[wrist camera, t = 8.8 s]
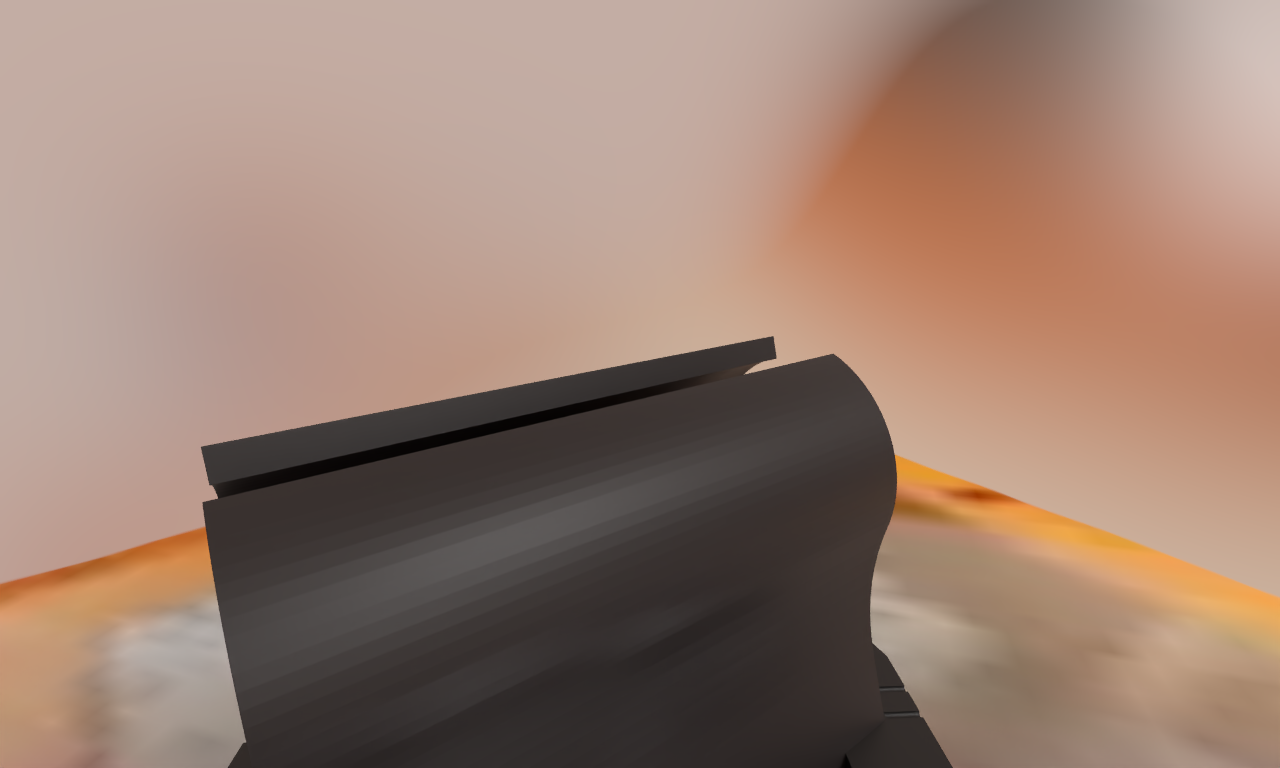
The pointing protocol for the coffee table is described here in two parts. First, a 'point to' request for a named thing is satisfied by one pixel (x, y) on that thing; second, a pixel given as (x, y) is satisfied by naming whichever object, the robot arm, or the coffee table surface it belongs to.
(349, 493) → the phone stand
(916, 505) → the coffee table surface
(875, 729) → the robot arm
